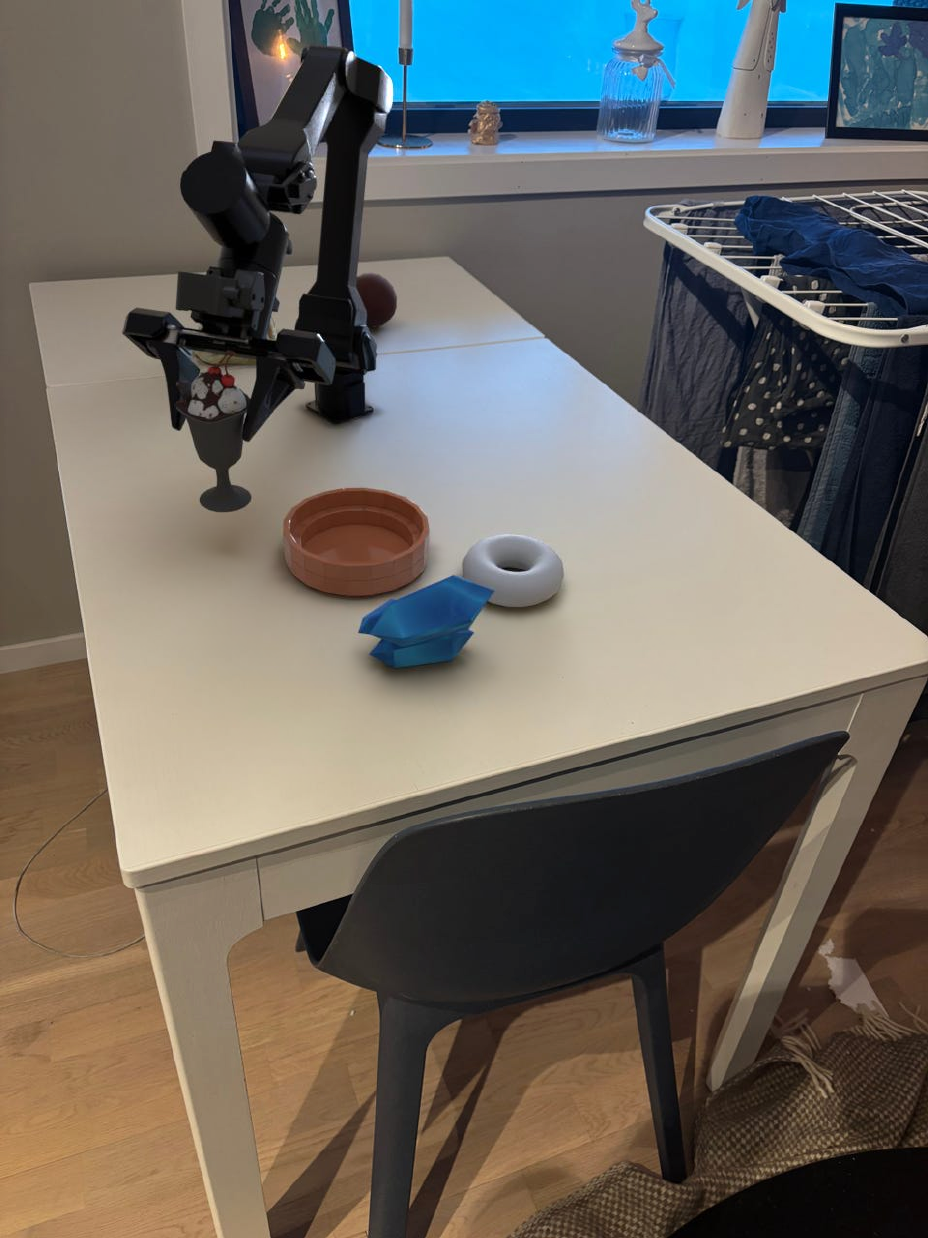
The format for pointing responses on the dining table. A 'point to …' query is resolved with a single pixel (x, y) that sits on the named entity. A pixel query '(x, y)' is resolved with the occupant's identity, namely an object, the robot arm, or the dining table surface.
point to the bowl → (356, 541)
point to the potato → (377, 298)
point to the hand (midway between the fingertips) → (210, 434)
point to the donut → (519, 553)
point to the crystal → (426, 623)
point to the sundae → (217, 432)
